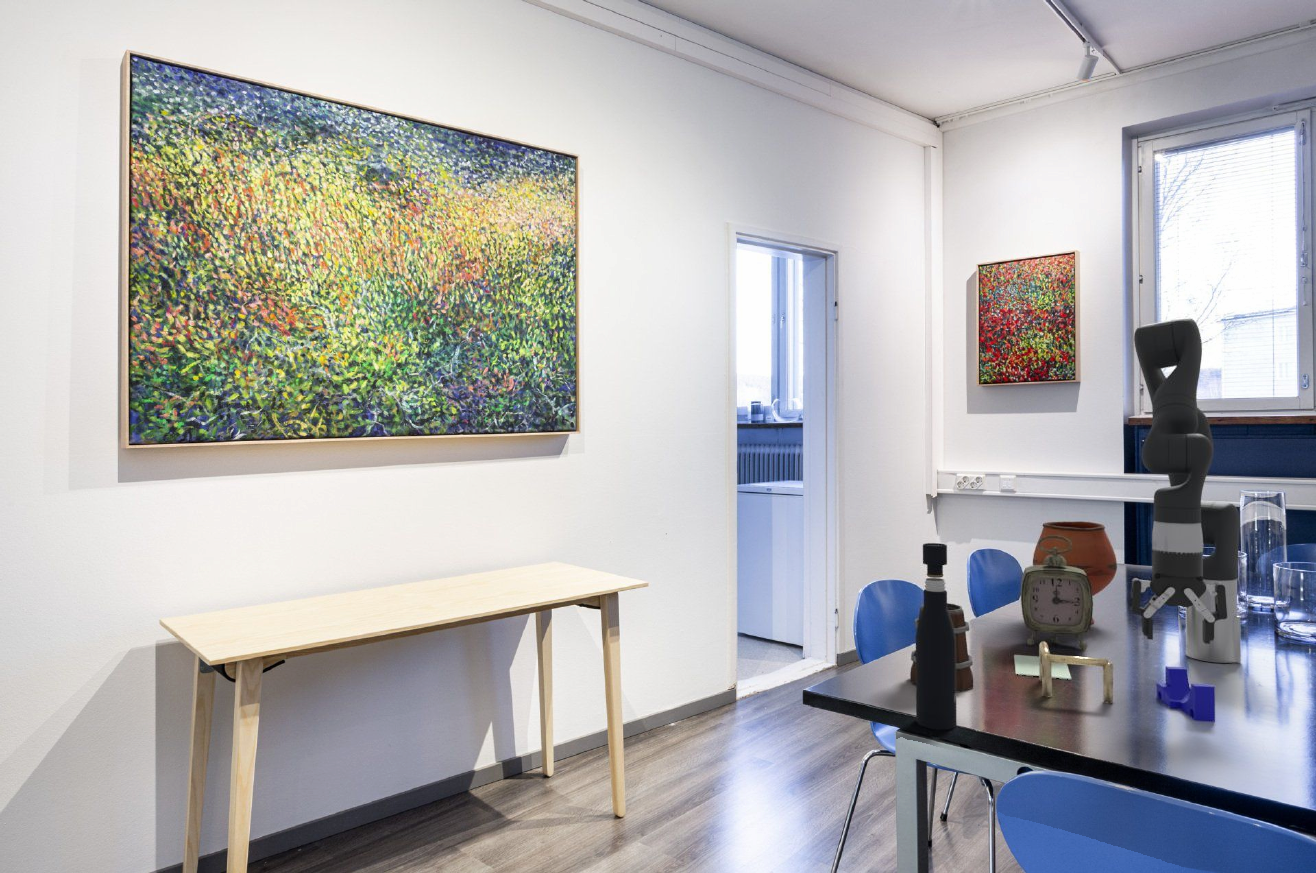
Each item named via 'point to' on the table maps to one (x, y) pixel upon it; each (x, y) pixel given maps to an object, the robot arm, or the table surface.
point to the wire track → (1047, 658)
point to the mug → (962, 658)
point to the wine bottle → (935, 648)
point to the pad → (1031, 667)
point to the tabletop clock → (1056, 597)
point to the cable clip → (1187, 695)
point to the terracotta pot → (1081, 550)
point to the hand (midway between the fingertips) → (1177, 640)
